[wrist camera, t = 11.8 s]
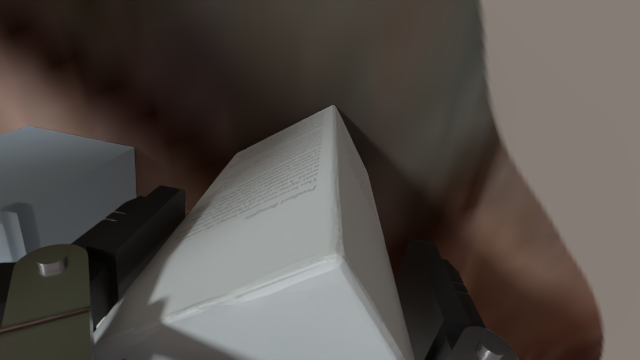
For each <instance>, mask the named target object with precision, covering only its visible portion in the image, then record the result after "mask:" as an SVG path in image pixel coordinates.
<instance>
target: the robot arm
mask: <svg viewBox="0 0 640 360" xmlns="http://www.w3.org/2000/svg"><path fill="white" fill-rule="evenodd" d="M184 219H185V192H184V190H181V189H176V188H171V187H166V186H159V187H157V188H156V189H155V190H154V191H153V192H151V193H150V194H149V195H148V196H146V197H143V196H140V197H137V198H135V199H132V200H129V201H127V202H125V203H124V204H122V205H121V206H120V207H118V208H117V209H116V210H114V212H112V213H110V214H109V215H108V216H107V217H105V220H101V221H100V222H99V223H97V224H96V225H95V226H93V227H92V228H91V229H90V230H88V231H87V232H86V233H84V234H83V235H82V236H80V237H79V238H78V239H76V240H75V241H74V242H73V243H71V244H56V245H50V246H46V247H42V248H39V249H36V250H34V251H32V252H30V253H28V254H26V255H25V256H23V257H22V258H20V259H19V260H18V261H17V262H2V263H0V360H97V359H96V351H95V343H94V332H95V330H96V329H97V325H98V324H99V322H100V321H101V320H102V319H103V318H104V317H106V316H107V315H108V313H109V312H110V311H111V309H112V308H113V307H114V306H115V304H116V303H117V302H118V300H119V299H120V298H121V297H122V295H123V294H124V293H125V292H126V290H127V289H128V288H129V287H130V286H131V284H132V283H133V282H134V281H135V279H136V278H137V277H138V276H139V275H140V273H141V272H142V271H143V270H144V269H145V267H146V266H147V265H148V264H149V262H150V261H151V260H152V259H153V257H154V256H155V255H156V254H157V252H158V251H159V250H160V249H161V247H162V246H163V245H164V244H165V242H166V241H167V240H168V238H169V237H170V236H171V235H172V234H173V232H174V231H175V229H176V228H177V227H178V226H179V225H180V224H181V222H182V221H183V220H184ZM395 284H396V287H397V291H398V295H399V299H400V304H401V308H402V312H403V316H404V319H405V323H406V327H407V331H408V335H409V338H410V342H411V346H412V350H413V354H414V358H415V360H519V359H518V356H517V354H516V353H515V351H514V350H513V348H512V347H511V346H510V345H509V344H508V343H507V342H506V341H505V340H504V339H503V338H501V337H500V336H499V335H497V334H496V333H494V332H492V331H490V330H488V329H486V327H485V325H484V323H483V321H482V319H481V317H480V315H479V313H478V311H477V309H476V307H475V305H474V303H473V301H472V299H471V297H470V295H468V291H467V289H466V287H465V285H463V281H462V279H461V277H460V275H459V273H458V271H457V270H456V269H455V268H454V267H453V266H452V265H451V264H450V263H449V262H448V261H447V260H444V259H442V258H441V256H440V254H439V252H438V249H437V247H436V245H435V244H434V243H432V242H427V241H422V240H418V239H411V240H410V241H409V243H408V246H407V248H406V251H405V254H404V256H403V259H402V261H401V264H400V266H399V269H398V272H397V275H396V280H395Z"/></svg>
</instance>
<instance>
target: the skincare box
mask: <svg viewBox="0 0 640 360" xmlns="http://www.w3.org/2000/svg"><path fill="white" fill-rule="evenodd" d="M94 343H95V351H96V359H97V360H415V358H414V354H413V350H412V346H411V342H410V338H409V335H408V331H407V327H406V323H405V319H404V316H403V312H402V308H401V304H400V299H399V295H398V291H397V287H396V284H395V280H394V276H393V272H392V268H391V265H390V261H389V256H388V253H387V249H386V245H385V241H384V237H383V233H382V229H381V225H380V221H379V217H378V213H377V209H376V205H375V201H374V197H373V193H372V189H371V185H370V181H369V177H368V173H367V170H366V168H365V166H364V164H363V162H362V160H361V158H360V156H359V154H358V152H357V150H356V148H355V145H354V143H353V141H352V139H351V137H350V135H349V133H348V130H347V128H346V126H345V124H344V122H343V120H342V118H341V116H340V114H339V112H338V110H337V108H336V106H334V105H331V106H329V107H327V108H325V109H323V110H321V111H319V112H317V113H316V114H314V115H312V116H310V117H308V118H306V119H304V120H302V121H300V122H298V123H296V124H294V125H292V126H290V127H288V128H286V129H284V130H282V131H280V132H278V133H276V134H274V135H272V136H270V137H268V138H266V139H264V140H262V141H260V142H258V143H256V144H254V145H252V146H250V147H248V148H246V149H245V150H243V151H240V152H238V153H237V154H236V155H235V156H234V157H233V158H232V160H231V161H230V162H229V163H228V165H227V166H226V167H225V168H224V170H223V171H222V172H221V173H220V174H219V176H218V177H217V178H216V180H215V181H214V182H213V183H212V185H211V186H210V187H209V189H208V190H207V191H206V192H205V194H204V195H203V196H202V197H201V199H200V200H199V201H198V202H197V204H196V205H195V206H194V207H193V209H192V210H191V211H190V212H189V214H188V215H187V216H186V217H185V219H184V220H183V221H182V222H181V224H180V225H179V226H178V227H177V228H176V229H175V231H174V232H173V234H172V235H171V236H170V237H169V238H168V240H167V241H166V242H165V244H164V245H163V246H162V247H161V249H160V250H159V251H158V252H157V254H156V255H155V256H154V257H153V259H152V260H151V261H150V262H149V264H148V265H147V266H146V267H145V269H144V270H143V271H142V272H141V273H140V275H139V276H138V277H137V278H136V279H135V281H134V282H133V283H132V284H131V286H130V287H129V288H128V289H127V290H126V292H125V293H124V294H123V295H122V297H121V298H120V299H119V300H118V302H117V303H116V304H115V306H114V307H113V308H112V309H111V311H110V312H109V313H108V315H107V316H106V317H105V318H104V320H103V321H102V322H101V324H100V325H99V326H98V328H97V329H96V330H95V332H94Z"/></svg>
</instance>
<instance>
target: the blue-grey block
mask: <svg viewBox="0 0 640 360" xmlns="http://www.w3.org/2000/svg"><path fill="white" fill-rule="evenodd" d="M135 198H137V196H136V174H135V153H134V147H130V146H125V145H120V144H115V143H110V142H105V141H101V140H96V139H91V138H86V137H81V136H76V135H71V134H66V133H61V132H56V131H51V130H46V129H41V128H37V127H32V126H27V127H24V128H21V129H18V130H14V131H11V132H8V133H4V134H1V135H0V263H2V262H17V261H18V260H19V259H20V258H22V257H23V256H25V255H26V254H28V253H30V252H32V251H34V250H36V249H39V248H42V247H46V246H50V245H56V244H71V243H73V242H74V241H75V240H76V239H78V238H79V237H80V236H82V235H83V234H84V233H86V232H87V231H88V230H90V229H91V228H92V227H93V226H95V225H96V224H97V223H99V222H100V221H101V220H105V217H107V216H108V215H109V214H110V213H112V212H114V210H116V209H117V208H118V207H120V206H121V205H122V204H124V203H125V202H127V201H129V200H132V199H135Z"/></svg>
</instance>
